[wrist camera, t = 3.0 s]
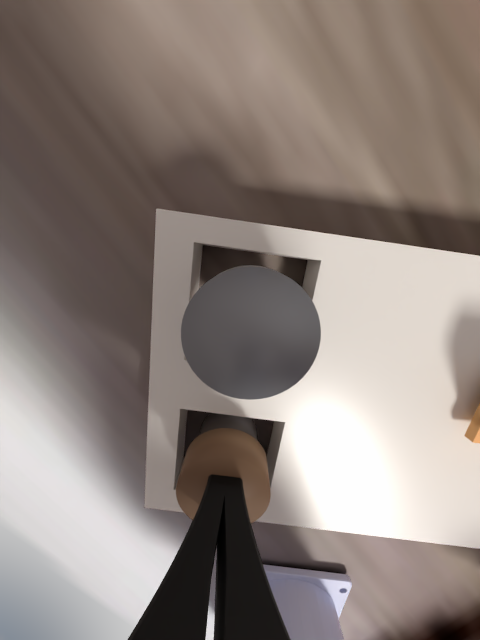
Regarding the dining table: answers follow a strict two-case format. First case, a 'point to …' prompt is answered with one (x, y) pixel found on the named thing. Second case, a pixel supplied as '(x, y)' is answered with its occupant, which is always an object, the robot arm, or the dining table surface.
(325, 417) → the panel
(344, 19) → the dining table surface
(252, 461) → the button walnut
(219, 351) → the grey push button
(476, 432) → the slider handle
